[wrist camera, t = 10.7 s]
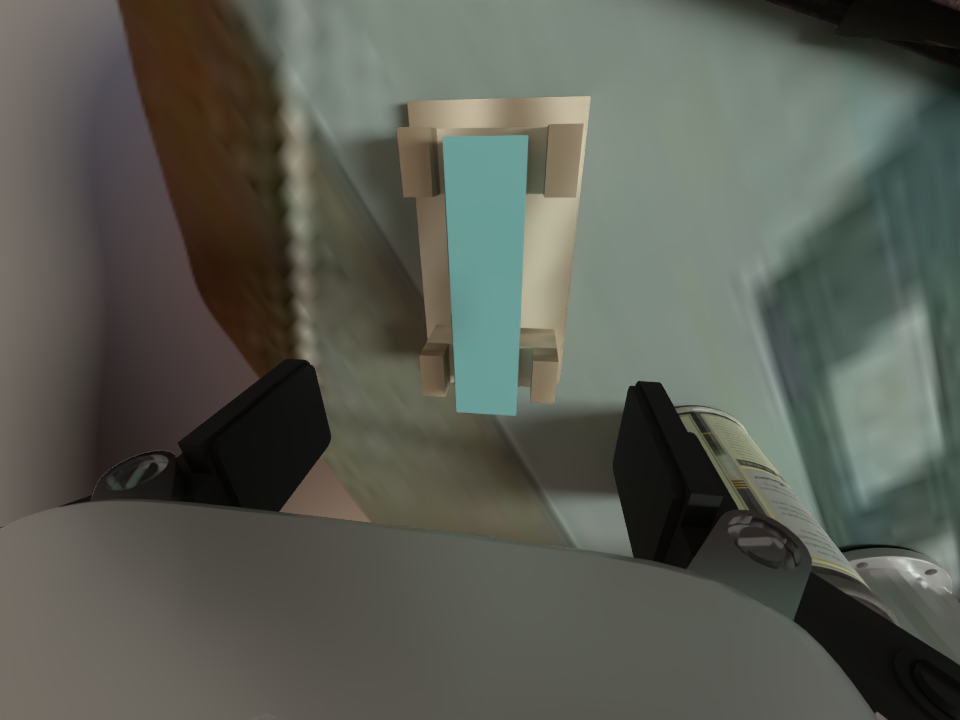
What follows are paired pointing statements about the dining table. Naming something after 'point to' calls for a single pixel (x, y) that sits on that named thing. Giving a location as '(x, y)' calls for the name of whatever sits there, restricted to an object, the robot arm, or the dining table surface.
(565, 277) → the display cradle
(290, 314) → the dining table surface
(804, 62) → the dining table surface
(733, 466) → the coffee can
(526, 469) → the dining table surface
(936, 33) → the diary
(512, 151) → the teal rectangular block
